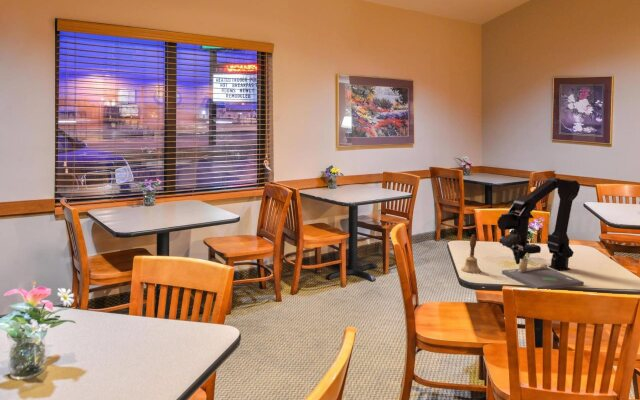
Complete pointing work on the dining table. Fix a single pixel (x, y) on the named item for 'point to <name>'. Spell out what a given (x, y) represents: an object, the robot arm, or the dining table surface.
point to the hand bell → (471, 259)
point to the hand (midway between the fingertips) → (517, 263)
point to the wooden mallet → (524, 267)
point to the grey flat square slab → (543, 278)
